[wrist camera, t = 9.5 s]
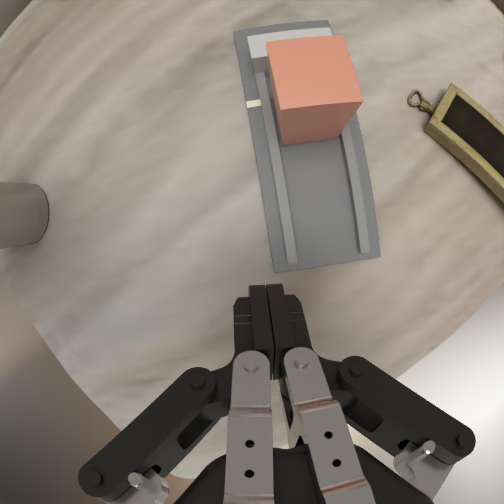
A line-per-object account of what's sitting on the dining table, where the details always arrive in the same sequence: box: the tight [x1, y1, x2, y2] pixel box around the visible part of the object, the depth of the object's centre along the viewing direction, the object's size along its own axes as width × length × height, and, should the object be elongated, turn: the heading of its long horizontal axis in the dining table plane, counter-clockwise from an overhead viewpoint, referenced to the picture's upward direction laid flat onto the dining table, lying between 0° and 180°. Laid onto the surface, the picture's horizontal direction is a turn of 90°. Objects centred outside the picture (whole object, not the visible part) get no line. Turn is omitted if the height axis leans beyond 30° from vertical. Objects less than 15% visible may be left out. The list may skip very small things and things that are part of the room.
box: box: [408, 83, 504, 203], centre depth 28 cm, size 8×22×5 cm, turn 56°
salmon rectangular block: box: [266, 35, 363, 146], centre depth 25 cm, size 6×6×12 cm
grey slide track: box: [233, 20, 380, 273], centre depth 29 cm, size 30×12×6 cm, turn 9°
